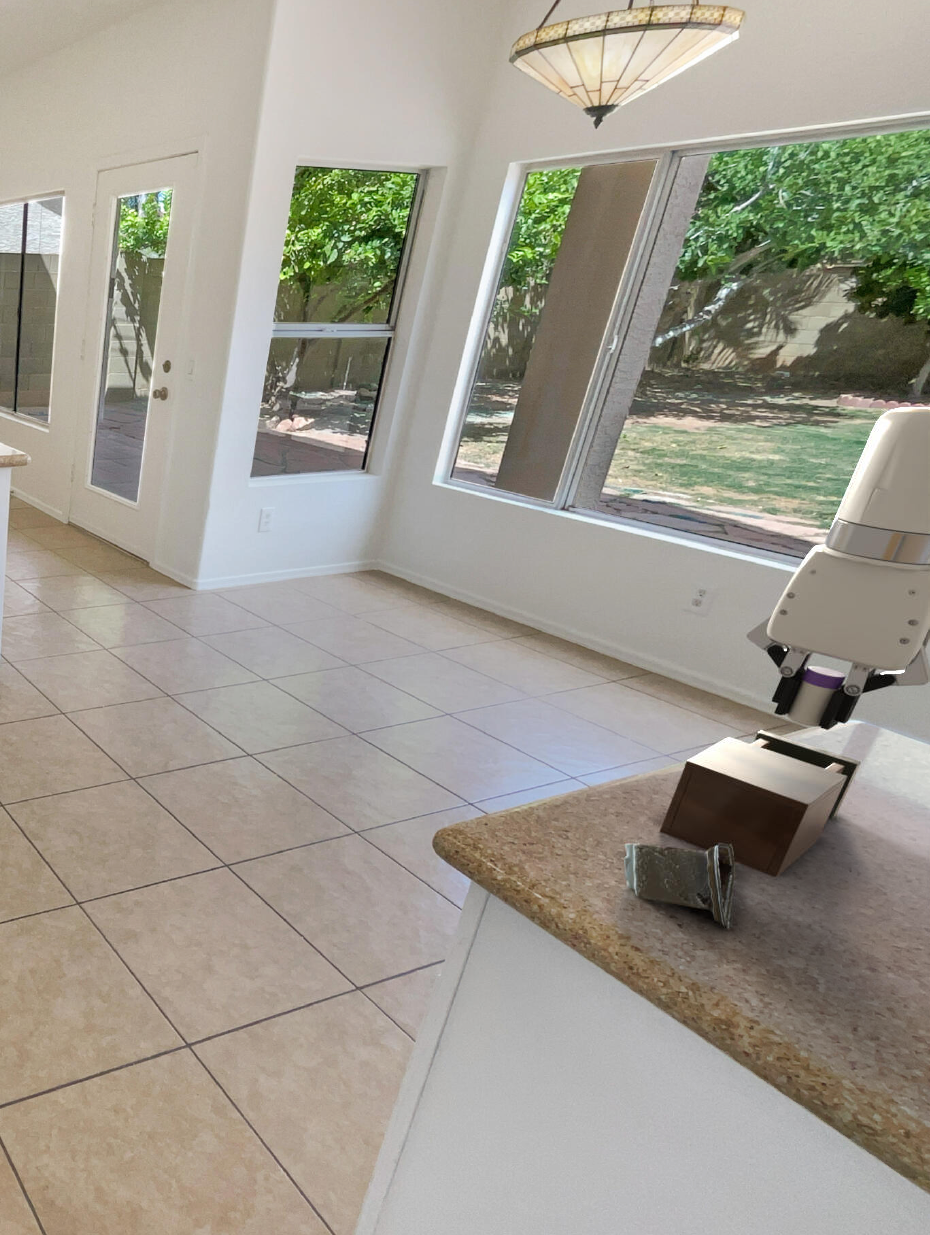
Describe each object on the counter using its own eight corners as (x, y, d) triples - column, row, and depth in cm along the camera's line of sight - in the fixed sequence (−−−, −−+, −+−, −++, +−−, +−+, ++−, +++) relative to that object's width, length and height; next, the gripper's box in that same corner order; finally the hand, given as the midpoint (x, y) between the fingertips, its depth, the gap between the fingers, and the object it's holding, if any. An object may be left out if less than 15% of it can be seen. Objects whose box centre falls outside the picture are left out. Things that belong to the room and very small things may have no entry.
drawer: (754, 773, 96) (776, 721, 94) (849, 806, 90) (875, 751, 87) (704, 805, 90) (726, 750, 87) (802, 843, 83) (829, 785, 81)
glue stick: (795, 713, 87) (817, 664, 85) (829, 725, 84) (852, 675, 82) (779, 716, 86) (801, 667, 84) (813, 728, 83) (836, 678, 81)
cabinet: (701, 805, 91) (729, 736, 88) (813, 848, 84) (847, 776, 81) (659, 832, 86) (686, 760, 83) (774, 881, 79) (808, 804, 76)
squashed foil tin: (638, 841, 85) (613, 795, 78) (736, 851, 79) (718, 803, 73) (637, 936, 81) (611, 897, 74) (740, 953, 76) (721, 913, 69)
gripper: (1030, 562, 74) (934, 746, 80) (783, 520, 87) (718, 681, 93) (1009, 573, 70) (910, 764, 77) (755, 527, 83) (689, 694, 90)
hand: (805, 717), depth 85 cm, fingers closed on glue stick, 2 cm apart
